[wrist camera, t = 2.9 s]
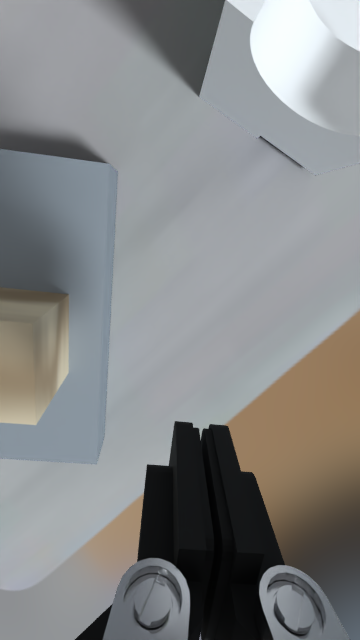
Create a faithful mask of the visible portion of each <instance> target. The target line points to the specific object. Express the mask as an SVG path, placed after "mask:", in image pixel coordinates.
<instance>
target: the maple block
mask: <svg viewBox="0 0 360 640" xmlns="http://www.w3.org/2000/svg"><path fill="white" fill-rule="evenodd" d="M68 373H69V294H61V293H51V292H42V291H32V290H22V289H13V288H3V287H0V423H13V424H27V425H36V424H37V423H38V421H39V420H40V418H41V416H42V415H43V413H44V412H45V410H46V408H47V407H48V405H49V404H50V402H51V400H52V399H53V397H54V395H55V394H56V392H57V391H58V389H59V387H60V386H61V384H62V383H63V381H64V379H65V378H66V376H67V375H68Z"/></svg>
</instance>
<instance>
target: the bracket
mask: <svg viewBox="0 0 360 640" xmlns="http://www.w3.org/2000/svg"><path fill="white" fill-rule="evenodd" d="M199 97H200V98H201V99H202V100H204V101H205V102H207V103H208V104H209V105H211V106H212V107H213V108H215V109H216V110H218V111H219V112H220V113H222V114H223V115H224V116H226V117H227V118H229V119H230V120H231V121H233V122H234V123H236V124H237V125H238V126H240V127H241V128H242V129H244V130H245V131H247V132H248V133H249V134H251V135H252V136H253V137H255V138H256V139H257V138H258V137H260V136H262V137H263V138H264V139H266V140H267V141H269V142H270V143H271V144H273V145H274V146H275V147H277V148H278V149H280V150H281V151H282V152H284V153H285V154H286V155H288V156H289V157H291V158H292V159H293V160H295V161H296V162H297V163H299V164H300V165H302V166H303V167H304V168H306V169H307V170H308V171H310V172H311V173H313V174H314V175H315V176H316V175H319V174H323V173H326V172H330V171H334V170H337V169H341V168H345V167H348V166H352V165H356V164H359V163H360V0H225V3H224V7H223V11H222V14H221V18H220V22H219V25H218V29H217V33H216V36H215V40H214V44H213V48H212V51H211V55H210V59H209V62H208V66H207V70H206V73H205V77H204V81H203V85H202V88H201V92H200V96H199Z"/></svg>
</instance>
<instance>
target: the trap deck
mask: <svg viewBox="0 0 360 640" xmlns="http://www.w3.org/2000/svg"><path fill="white" fill-rule="evenodd" d="M117 178H118V171H117V170H116V169H115V168H114V167H112V166H111V165H110V164H107V163H100V162H93V161H85V160H78V159H71V158H64V157H56V156H49V155H42V154H35V153H27V152H20V151H13V150H5V149H0V287H3V288H13V289H22V290H32V291H42V292H51V293H61V294H69V373H68V375H67V376H66V378H65V379H64V381H63V383H62V384H61V386H60V387H59V389H58V391H57V392H56V394H55V395H54V397H53V399H52V400H51V402H50V404H49V405H48V407H47V408H46V410H45V412H44V413H43V415H42V416H41V418H40V420H39V421H38V423H37V424H36V425H27V424H13V423H0V458H1V459H17V460H34V461H50V462H66V463H82V464H97V461H98V458H99V454H100V451H101V447H102V444H103V440H104V434H105V414H106V394H107V375H108V355H109V335H110V315H111V296H112V276H113V256H114V237H115V217H116V197H117Z"/></svg>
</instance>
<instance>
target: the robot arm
mask: <svg viewBox="0 0 360 640" xmlns="http://www.w3.org/2000/svg"><path fill="white" fill-rule="evenodd" d="M200 632H201V639H202V640H350V639H349V637H348V635H347V633H346V632H345V630H344V628H343V626H342V624H341V622H340V621H339V619H338V617H337V615H336V613H335V611H334V610H333V608H332V606H331V604H330V602H329V600H328V598H327V597H326V595H325V594H324V593H323V591H322V590H321V588H320V587H319V586H318V585H317V584H316V583H315V582H314V581H313V580H312V579H311V578H310V577H309V576H308V575H306V574H305V573H303V572H302V571H300V570H299V569H296V568H293V567H290V566H285V564H284V561H283V558H282V555H281V552H280V549H279V546H278V543H277V540H276V538H275V534H274V531H273V528H272V525H271V522H270V519H269V516H268V513H267V510H266V507H265V505H264V501H263V498H262V495H261V493H260V490H259V487H258V484H257V481H256V478H255V476H254V474H253V473H252V472H241V470H240V466H239V463H238V459H237V456H236V452H235V449H234V446H233V442H232V438H231V435H230V431H229V428H228V426H225V425H213V424H210V425H209V429H203V431H202V437H201V441H200V433H199V428H193V424H192V423H189V422H177V421H175V424H174V431H173V438H172V446H171V453H170V461H169V466H161V465H147V470H146V480H145V489H144V499H143V509H142V519H141V529H140V539H139V549H138V559H137V563H135V564H134V565H132V566H131V567H130V568H129V569H128V570H127V571H126V573H125V574H124V575H123V576H122V578H121V581H120V583H119V585H118V588H117V591H116V594H115V598H114V601H113V604H112V605H111V606H110V607H109V608H108V609H107V610H106V611H105V612H103V613H102V614H101V615H100V616H99V617H98V618H97V619H96V620H95V621H94V622H93V623H92V624H91V625H90V626H89V627H88V628H87V629H86V630H85V631H83V633H81V634H80V635H79V636H78V637H77V638H76V639H75V640H199V637H200Z"/></svg>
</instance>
